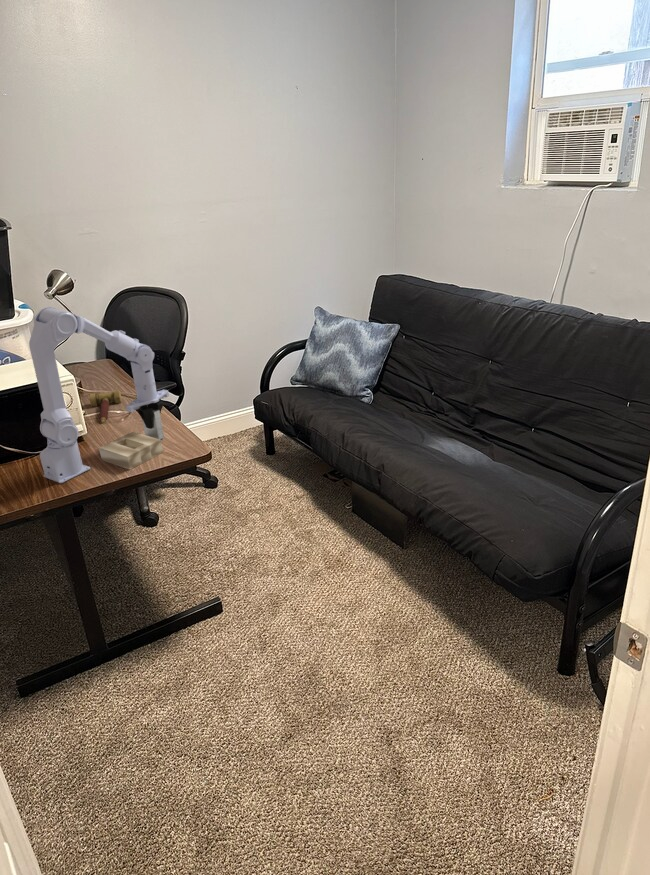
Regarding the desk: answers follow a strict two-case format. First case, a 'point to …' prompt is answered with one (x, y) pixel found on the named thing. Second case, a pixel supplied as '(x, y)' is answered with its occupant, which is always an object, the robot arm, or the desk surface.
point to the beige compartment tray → (131, 450)
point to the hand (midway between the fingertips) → (152, 426)
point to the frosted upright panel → (155, 426)
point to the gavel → (105, 402)
